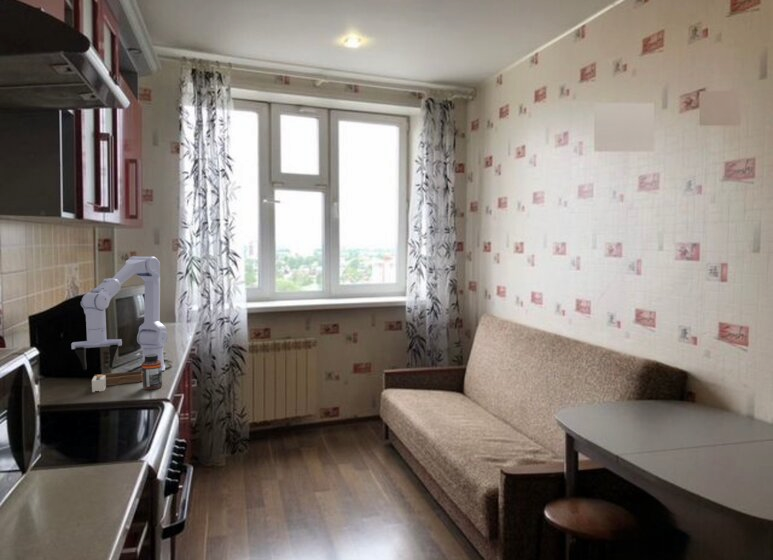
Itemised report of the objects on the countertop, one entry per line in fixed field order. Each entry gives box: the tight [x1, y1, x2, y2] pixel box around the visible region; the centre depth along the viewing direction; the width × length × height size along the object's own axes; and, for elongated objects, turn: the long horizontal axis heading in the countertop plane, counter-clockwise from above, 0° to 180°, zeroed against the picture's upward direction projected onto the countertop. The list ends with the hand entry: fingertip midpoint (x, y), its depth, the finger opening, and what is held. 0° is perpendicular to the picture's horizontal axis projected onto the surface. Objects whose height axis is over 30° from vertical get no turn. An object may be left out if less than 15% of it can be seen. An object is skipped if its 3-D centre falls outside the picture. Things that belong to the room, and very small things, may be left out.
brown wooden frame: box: [94, 370, 143, 387], centre depth 180 cm, size 7×16×2 cm, turn 113°
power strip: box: [91, 374, 107, 393], centre depth 171 cm, size 3×6×4 cm, turn 23°
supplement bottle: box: [141, 354, 163, 391], centre depth 172 cm, size 6×6×11 cm
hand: (98, 368), depth 170 cm, fingers open, 7 cm apart
